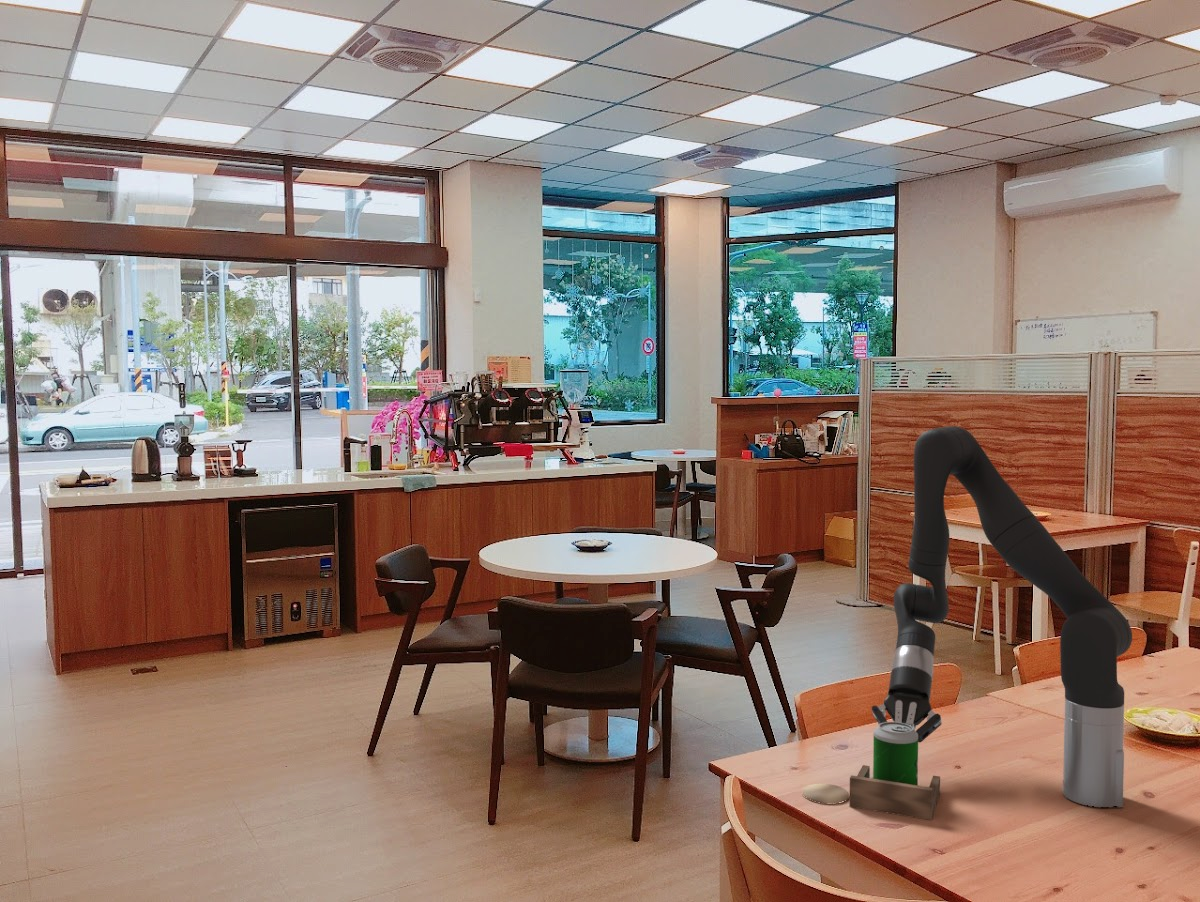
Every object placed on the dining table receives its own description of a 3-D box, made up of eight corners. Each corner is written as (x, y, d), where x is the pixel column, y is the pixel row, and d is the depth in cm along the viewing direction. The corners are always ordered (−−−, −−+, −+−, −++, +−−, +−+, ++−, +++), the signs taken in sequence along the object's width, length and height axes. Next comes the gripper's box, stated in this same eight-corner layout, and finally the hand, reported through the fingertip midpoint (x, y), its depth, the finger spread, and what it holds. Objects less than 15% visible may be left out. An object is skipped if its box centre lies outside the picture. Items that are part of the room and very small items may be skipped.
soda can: (918, 804, 170) (919, 735, 170) (873, 800, 172) (873, 732, 172) (916, 788, 177) (917, 722, 177) (872, 784, 179) (873, 718, 179)
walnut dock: (939, 793, 175) (940, 765, 175) (931, 820, 164) (931, 790, 164) (862, 781, 181) (863, 754, 180) (849, 806, 169) (849, 777, 169)
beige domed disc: (852, 790, 176) (852, 787, 176) (843, 807, 169) (843, 804, 169) (808, 783, 180) (808, 780, 180) (797, 799, 172) (797, 796, 172)
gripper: (873, 660, 189) (860, 744, 179) (946, 668, 183) (937, 755, 173) (878, 681, 194) (865, 763, 184) (949, 689, 188) (940, 774, 178)
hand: (900, 759), depth 178 cm, fingers closed
